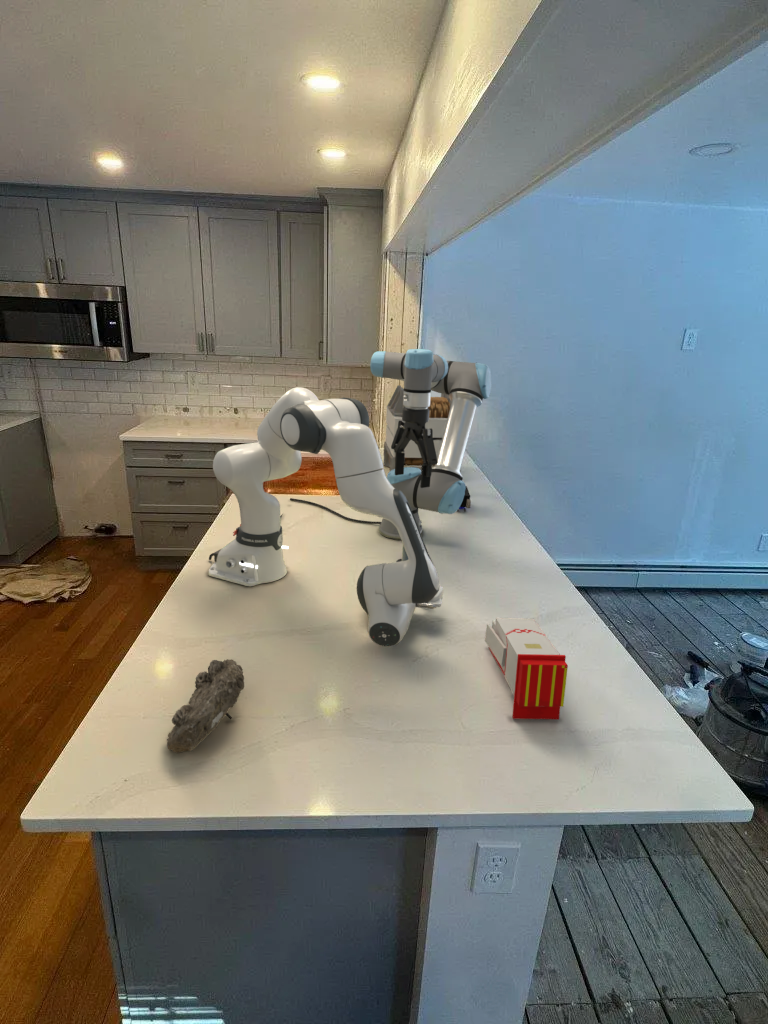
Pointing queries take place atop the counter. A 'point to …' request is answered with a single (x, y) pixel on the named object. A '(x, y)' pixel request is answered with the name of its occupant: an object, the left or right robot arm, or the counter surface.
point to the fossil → (206, 705)
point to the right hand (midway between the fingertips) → (411, 480)
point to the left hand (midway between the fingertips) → (408, 578)
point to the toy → (529, 667)
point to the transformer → (436, 422)
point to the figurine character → (465, 500)
